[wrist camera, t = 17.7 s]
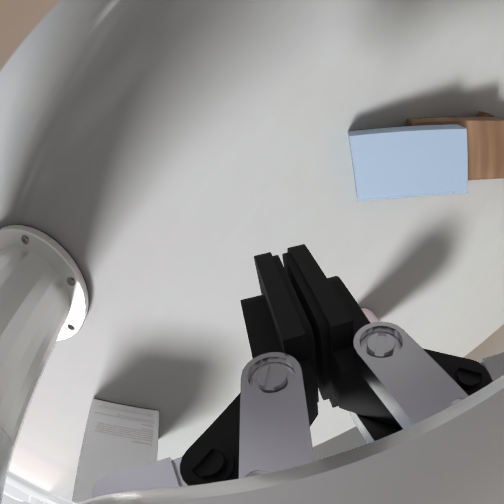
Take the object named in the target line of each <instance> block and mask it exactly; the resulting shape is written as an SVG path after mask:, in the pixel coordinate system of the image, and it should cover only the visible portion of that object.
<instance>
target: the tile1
mask: <svg viewBox="0 0 504 504" xmlns="http://www.w3.org/2000/svg"><path fill="white" fill-rule="evenodd" d="M348 136H349V142H350V149H351V155H352V162H353V170H354V177H355V185H356V193H357V199H358V202H359V201H369V200H380V199H391V198H402V197H414V196H427V195H440V194H454V193H467V186H468V152H467V129H466V128H464V127H462V126H460V125H458V124H445V125H421V126H404V127H390V128H378V129H367V130H357V131H348Z"/></svg>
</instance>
